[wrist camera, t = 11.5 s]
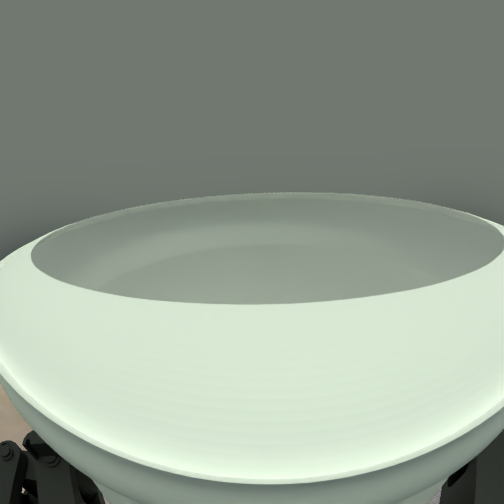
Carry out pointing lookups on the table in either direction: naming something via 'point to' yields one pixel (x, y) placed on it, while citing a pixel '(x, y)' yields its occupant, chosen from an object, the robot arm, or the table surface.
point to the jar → (261, 347)
